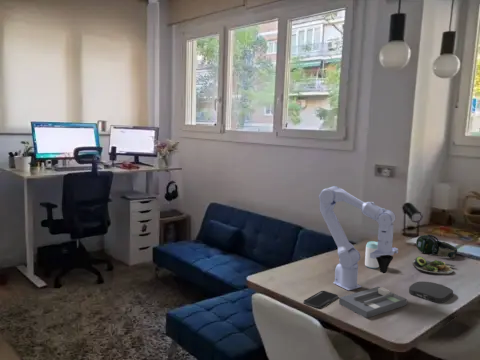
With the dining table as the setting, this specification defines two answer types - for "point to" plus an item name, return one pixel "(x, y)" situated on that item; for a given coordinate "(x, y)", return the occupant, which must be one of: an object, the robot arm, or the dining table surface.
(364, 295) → the panel
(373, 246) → the can
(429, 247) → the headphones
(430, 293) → the media streaming box
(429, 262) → the salad plate
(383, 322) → the dining table surface
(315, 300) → the phone
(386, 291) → the block
